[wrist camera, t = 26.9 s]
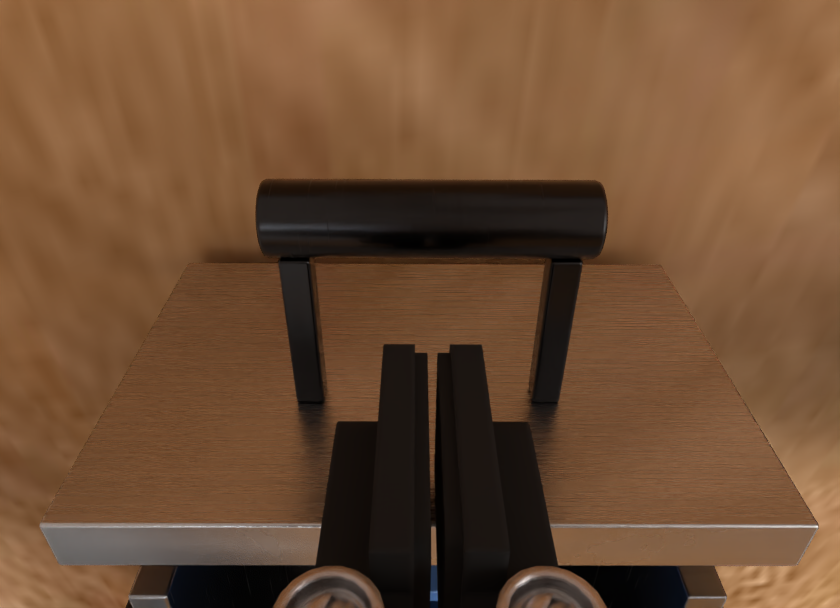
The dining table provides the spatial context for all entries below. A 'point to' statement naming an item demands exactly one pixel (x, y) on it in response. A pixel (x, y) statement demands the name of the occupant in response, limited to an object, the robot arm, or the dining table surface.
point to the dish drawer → (431, 333)
